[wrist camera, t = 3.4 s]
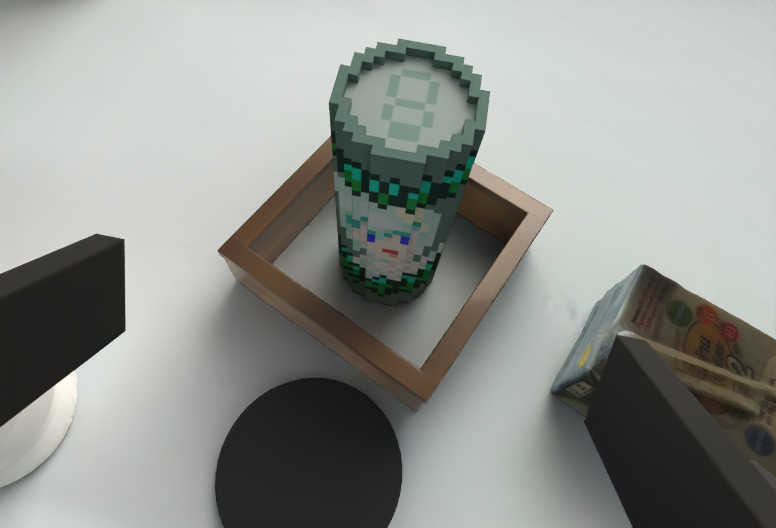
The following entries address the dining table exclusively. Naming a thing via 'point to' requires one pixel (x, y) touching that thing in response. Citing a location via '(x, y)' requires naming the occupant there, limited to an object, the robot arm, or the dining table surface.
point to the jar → (37, 430)
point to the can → (401, 162)
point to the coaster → (309, 460)
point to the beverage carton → (684, 356)
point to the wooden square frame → (356, 346)
